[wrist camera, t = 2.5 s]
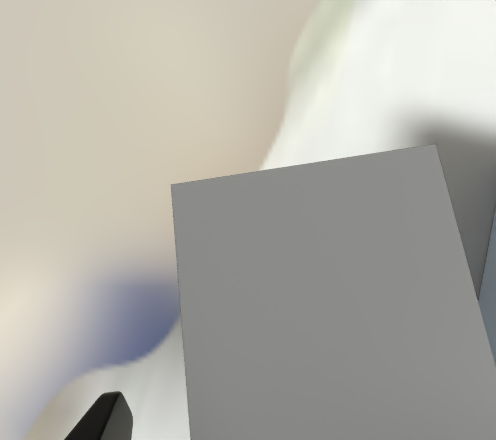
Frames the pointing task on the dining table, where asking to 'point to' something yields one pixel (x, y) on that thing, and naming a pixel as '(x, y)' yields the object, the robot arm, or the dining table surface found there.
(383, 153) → the gray block
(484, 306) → the socket block
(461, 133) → the dining table surface
